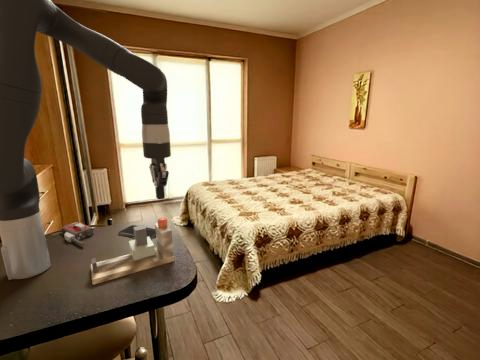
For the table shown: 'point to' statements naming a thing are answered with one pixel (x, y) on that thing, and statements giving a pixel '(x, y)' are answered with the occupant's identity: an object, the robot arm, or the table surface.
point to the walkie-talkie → (76, 232)
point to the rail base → (128, 267)
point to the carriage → (141, 244)
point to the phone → (130, 232)
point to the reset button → (162, 223)
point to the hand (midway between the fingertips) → (160, 198)
